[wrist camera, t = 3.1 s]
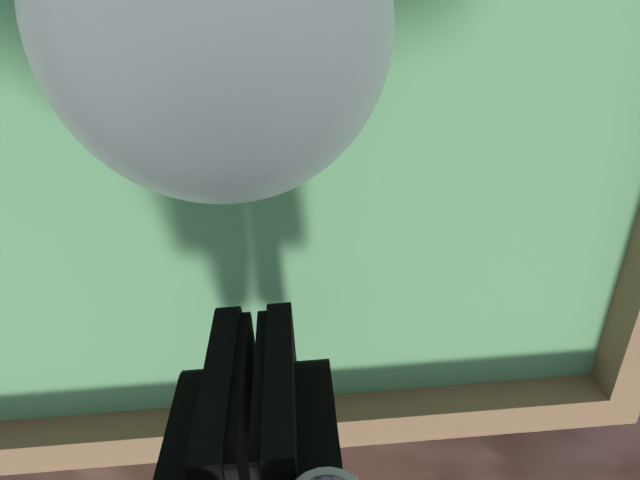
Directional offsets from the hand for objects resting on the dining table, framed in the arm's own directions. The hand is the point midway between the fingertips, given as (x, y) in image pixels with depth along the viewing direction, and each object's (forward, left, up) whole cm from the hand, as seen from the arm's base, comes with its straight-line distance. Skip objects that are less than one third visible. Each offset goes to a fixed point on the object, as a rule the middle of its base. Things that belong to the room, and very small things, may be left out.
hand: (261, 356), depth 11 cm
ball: (0, -7, +1) cm, 7 cm away
